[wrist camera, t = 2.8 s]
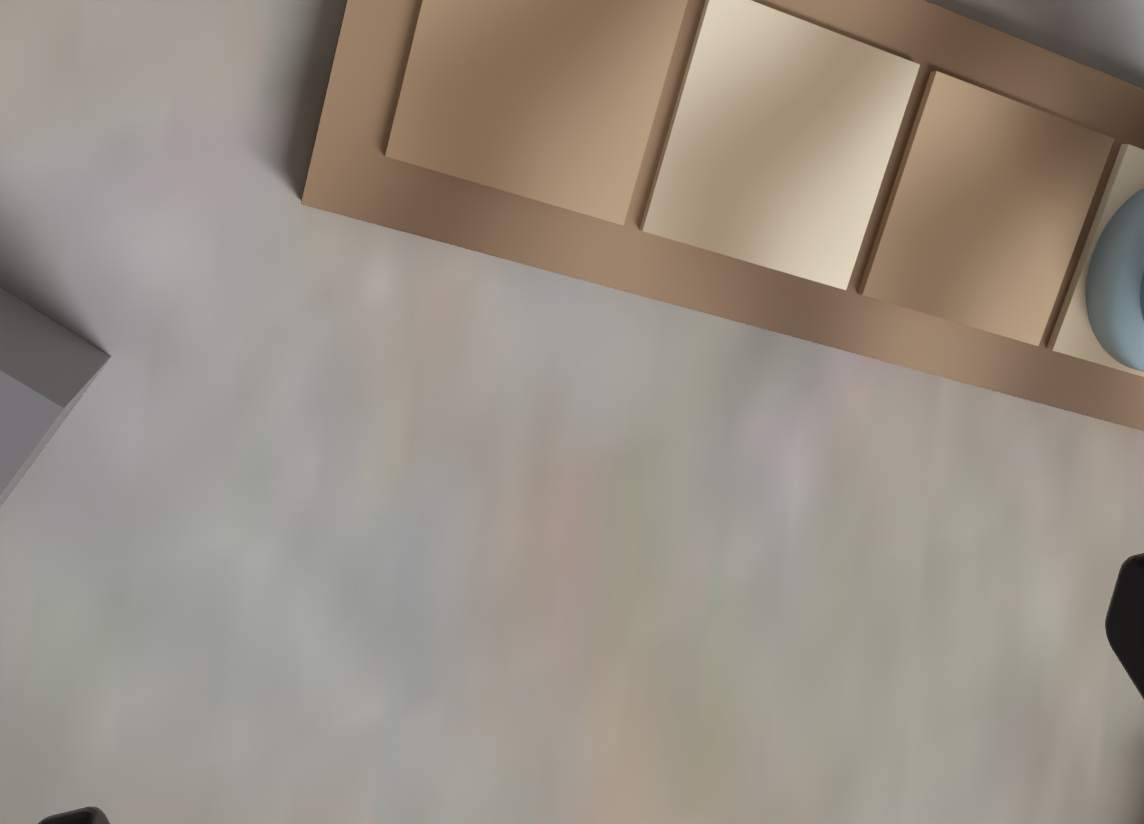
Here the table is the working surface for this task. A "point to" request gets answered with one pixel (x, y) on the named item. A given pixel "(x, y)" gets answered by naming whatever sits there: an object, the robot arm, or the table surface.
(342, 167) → the board
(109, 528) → the table surface
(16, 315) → the die
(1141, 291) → the pawn
